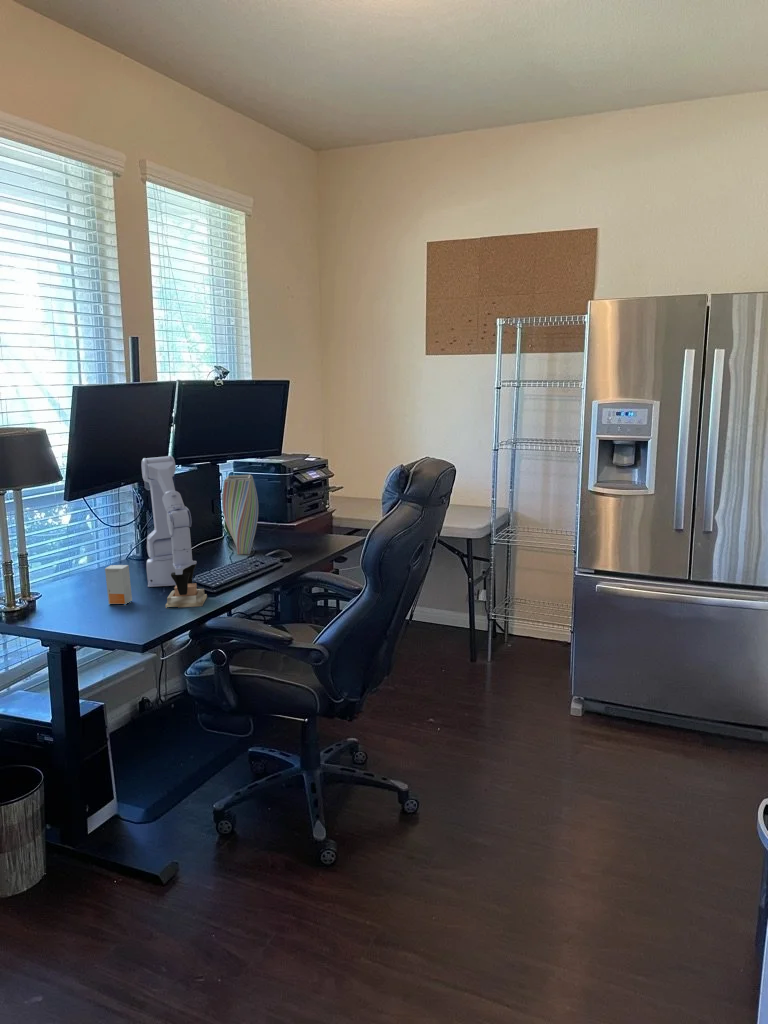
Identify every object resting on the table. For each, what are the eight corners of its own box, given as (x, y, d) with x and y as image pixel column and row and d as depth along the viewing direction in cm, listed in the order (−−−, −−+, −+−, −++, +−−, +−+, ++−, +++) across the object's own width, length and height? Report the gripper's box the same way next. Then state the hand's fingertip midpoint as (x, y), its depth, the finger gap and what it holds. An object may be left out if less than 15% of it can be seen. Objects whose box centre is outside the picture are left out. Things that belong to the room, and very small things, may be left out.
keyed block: (195, 600, 231) (194, 586, 230) (175, 602, 230) (174, 588, 229) (197, 596, 235) (196, 583, 234) (178, 598, 234) (176, 584, 233)
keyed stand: (165, 608, 228) (164, 598, 227) (171, 599, 237) (170, 589, 236) (202, 606, 228) (201, 596, 228) (206, 597, 237) (206, 588, 237)
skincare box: (108, 605, 233) (104, 568, 230) (114, 601, 237) (110, 564, 234) (126, 605, 232) (122, 568, 229) (133, 601, 236) (129, 564, 233)
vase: (225, 558, 285) (218, 480, 279) (227, 549, 298) (221, 475, 292) (260, 555, 286) (255, 478, 280) (262, 547, 299) (256, 473, 293)
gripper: (190, 553, 222) (194, 597, 225) (198, 542, 236) (202, 583, 239) (166, 554, 222) (170, 598, 224) (176, 543, 236) (180, 584, 239)
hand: (185, 590), depth 232 cm, fingers open, 7 cm apart
